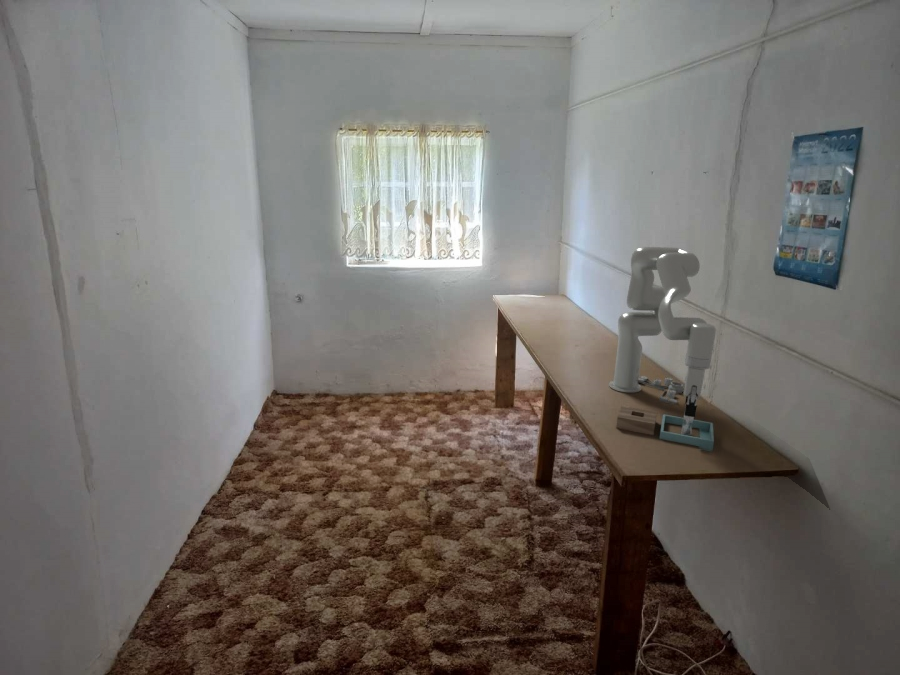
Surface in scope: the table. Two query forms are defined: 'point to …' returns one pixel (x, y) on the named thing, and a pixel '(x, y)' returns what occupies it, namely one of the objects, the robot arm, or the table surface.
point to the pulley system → (673, 387)
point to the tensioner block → (636, 419)
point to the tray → (703, 441)
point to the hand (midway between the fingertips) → (689, 410)
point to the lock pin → (687, 425)
